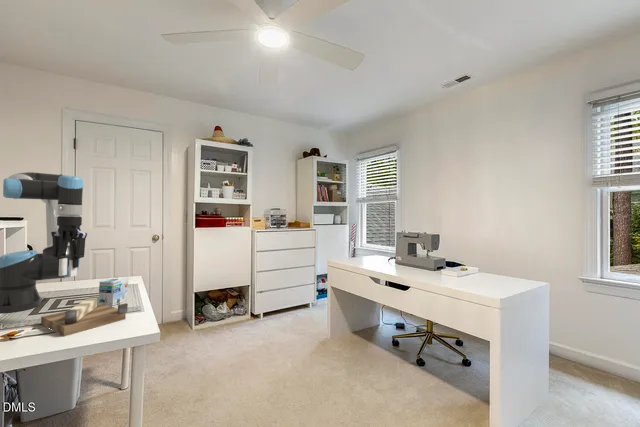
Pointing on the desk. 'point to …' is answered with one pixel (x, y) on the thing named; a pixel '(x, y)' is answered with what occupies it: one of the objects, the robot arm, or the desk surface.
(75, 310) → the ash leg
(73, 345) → the desk surface
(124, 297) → the light bulb box
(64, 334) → the walnut seat
